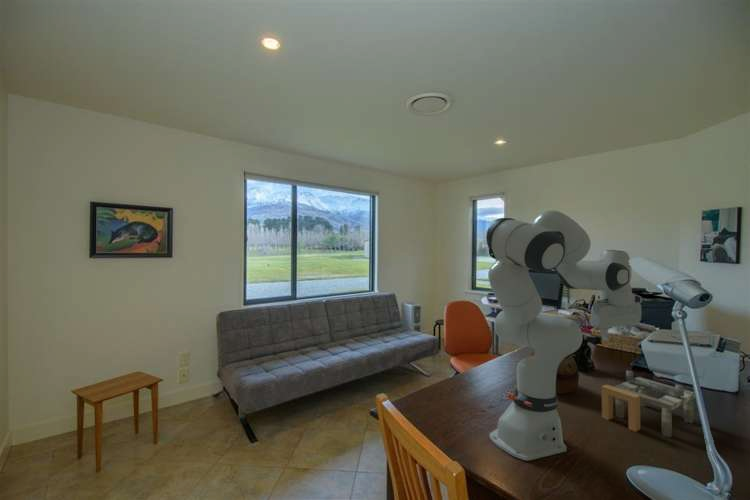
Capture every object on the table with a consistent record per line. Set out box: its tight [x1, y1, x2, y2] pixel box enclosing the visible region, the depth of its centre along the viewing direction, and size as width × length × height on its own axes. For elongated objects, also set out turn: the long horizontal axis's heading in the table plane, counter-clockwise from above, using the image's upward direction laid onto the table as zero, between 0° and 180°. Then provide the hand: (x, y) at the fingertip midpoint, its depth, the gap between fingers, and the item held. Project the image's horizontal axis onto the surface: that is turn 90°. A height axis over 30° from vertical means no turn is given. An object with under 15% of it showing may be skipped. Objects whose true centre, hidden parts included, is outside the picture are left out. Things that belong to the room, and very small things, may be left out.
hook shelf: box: [613, 370, 696, 438], centre depth 111 cm, size 18×16×14 cm
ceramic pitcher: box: [529, 349, 580, 394], centre depth 138 cm, size 20×20×30 cm
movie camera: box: [571, 332, 603, 372], centre depth 166 cm, size 31×18×18 cm, turn 29°
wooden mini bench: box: [601, 384, 641, 433], centre depth 109 cm, size 10×3×11 cm, turn 28°
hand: (616, 338), depth 110 cm, fingers open, 8 cm apart
